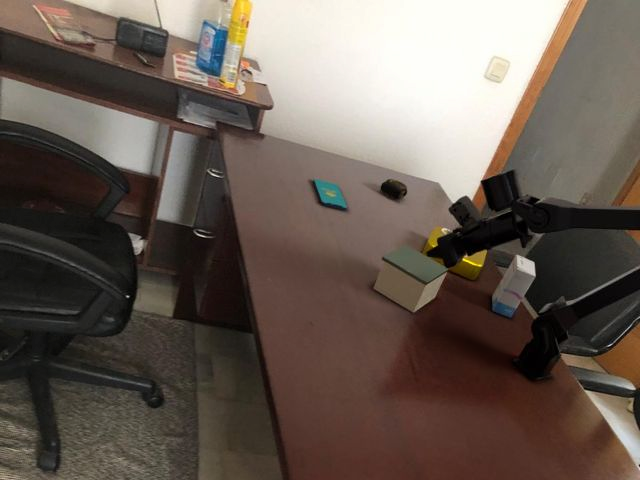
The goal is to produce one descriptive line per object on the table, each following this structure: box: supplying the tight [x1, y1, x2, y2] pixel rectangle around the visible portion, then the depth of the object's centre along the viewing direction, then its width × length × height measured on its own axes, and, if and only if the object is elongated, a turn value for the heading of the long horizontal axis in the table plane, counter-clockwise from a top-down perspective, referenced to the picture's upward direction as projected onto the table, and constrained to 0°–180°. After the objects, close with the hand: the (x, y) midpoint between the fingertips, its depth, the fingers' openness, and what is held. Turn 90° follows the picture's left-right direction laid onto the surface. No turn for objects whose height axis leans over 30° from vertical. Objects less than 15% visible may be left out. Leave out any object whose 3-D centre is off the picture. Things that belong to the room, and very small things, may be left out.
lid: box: [381, 244, 449, 285], centre depth 143 cm, size 11×12×1 cm
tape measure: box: [380, 178, 408, 201], centre depth 190 cm, size 7×7×4 cm
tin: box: [373, 261, 448, 314], centre depth 145 cm, size 11×12×7 cm
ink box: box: [491, 254, 537, 319], centre depth 154 cm, size 9×5×12 cm, turn 168°
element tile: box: [421, 225, 488, 281], centre depth 168 cm, size 15×15×5 cm
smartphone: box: [312, 178, 348, 211], centre depth 176 cm, size 7×1×15 cm
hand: (427, 254), depth 140 cm, fingers closed
